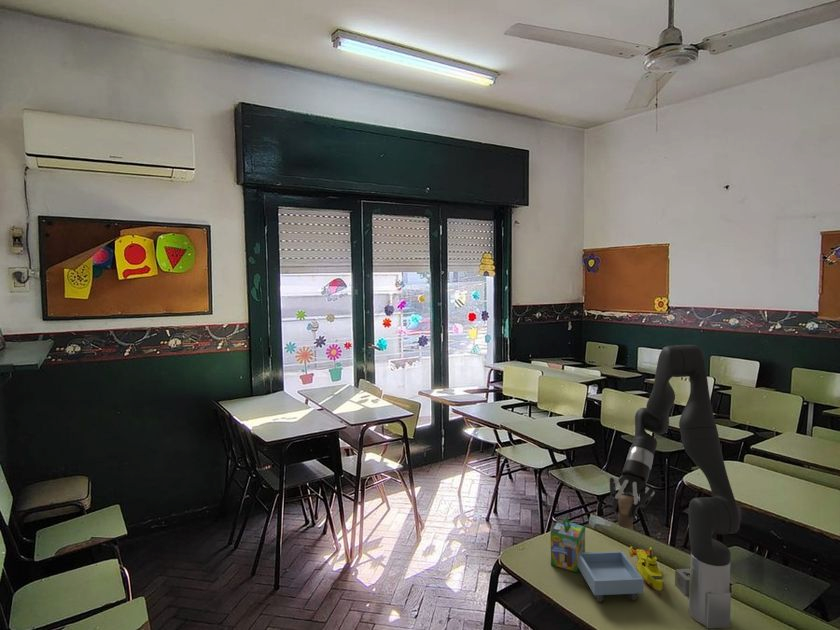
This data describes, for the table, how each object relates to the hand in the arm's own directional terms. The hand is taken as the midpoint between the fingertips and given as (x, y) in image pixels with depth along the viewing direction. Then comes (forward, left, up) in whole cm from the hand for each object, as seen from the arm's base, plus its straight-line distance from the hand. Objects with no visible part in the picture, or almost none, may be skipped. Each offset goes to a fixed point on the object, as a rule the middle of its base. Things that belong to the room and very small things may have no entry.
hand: (623, 514), depth 153 cm
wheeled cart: (-7, +7, -19) cm, 22 cm away
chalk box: (+7, +15, -19) cm, 25 cm away
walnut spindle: (+1, -1, -4) cm, 5 cm away
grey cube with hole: (-9, -16, -19) cm, 27 cm away
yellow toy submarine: (-3, -7, -19) cm, 21 cm away
